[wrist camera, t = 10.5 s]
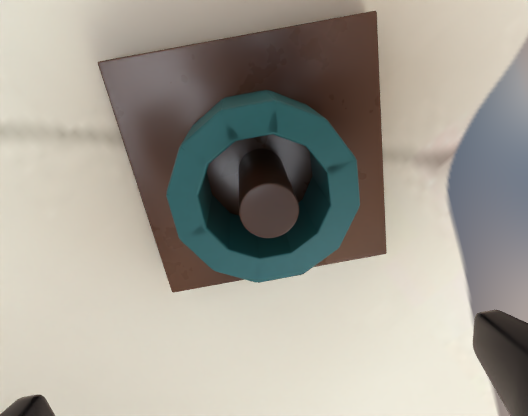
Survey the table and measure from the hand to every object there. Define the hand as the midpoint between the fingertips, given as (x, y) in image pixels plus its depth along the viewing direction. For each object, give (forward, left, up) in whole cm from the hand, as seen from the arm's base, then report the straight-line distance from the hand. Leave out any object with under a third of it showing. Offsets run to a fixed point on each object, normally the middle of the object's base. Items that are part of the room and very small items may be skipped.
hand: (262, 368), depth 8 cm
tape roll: (+1, +1, -10) cm, 10 cm away
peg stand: (+1, +1, -11) cm, 11 cm away
